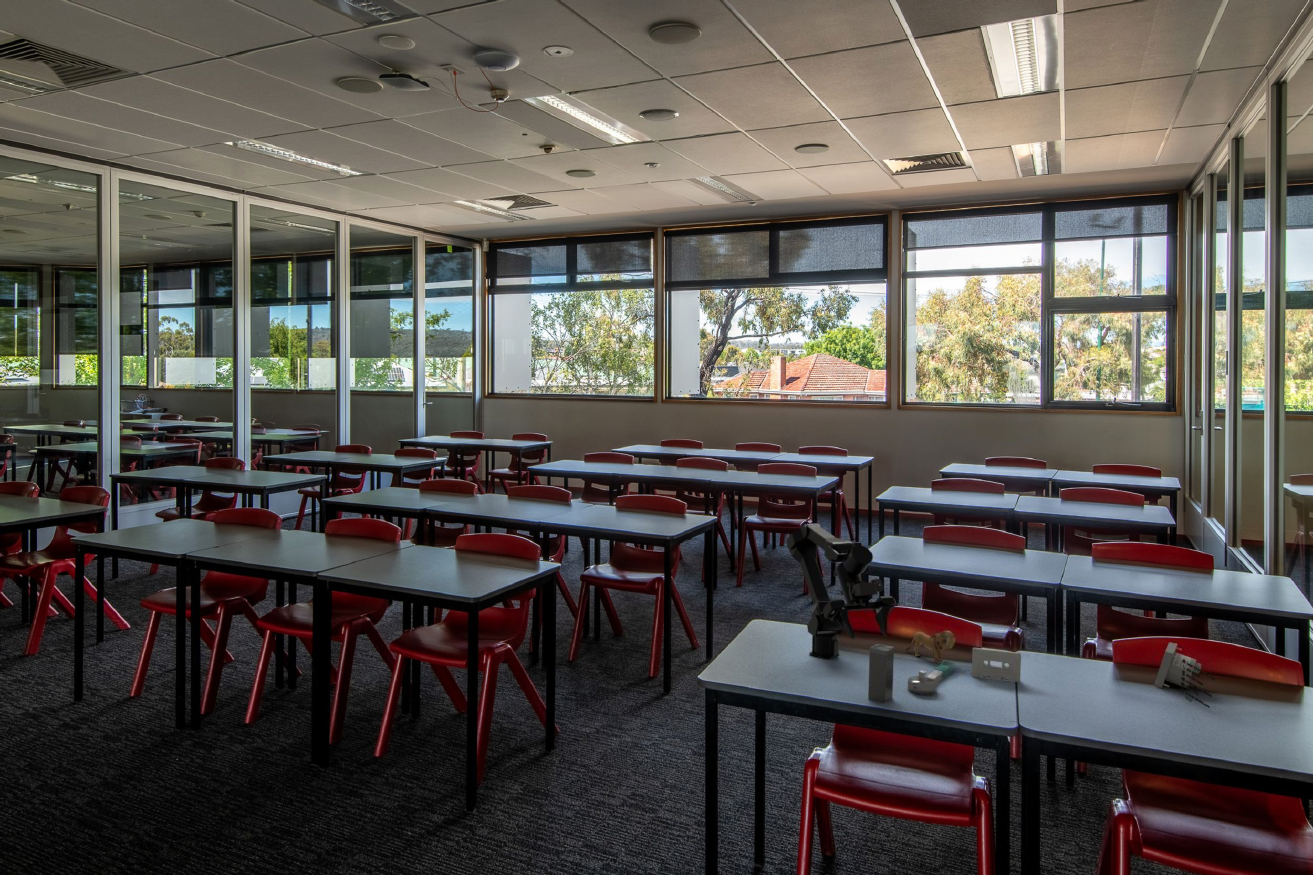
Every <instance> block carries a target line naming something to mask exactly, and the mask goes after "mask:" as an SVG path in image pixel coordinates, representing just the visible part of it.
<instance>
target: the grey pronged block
mask: <svg viewBox="0 0 1313 875" xmlns="http://www.w3.org/2000/svg"><path fill="white" fill-rule="evenodd" d="M1176 650H1179V651H1182V650H1183V649H1182V648H1180V647H1178V643H1173V642H1168V645H1167V647H1166V649H1165V651H1164V655H1163V658H1162V660H1161V663H1160V666H1159V669H1158V673H1157V675H1156V678H1155V681H1154V686H1157V687H1158V688H1160V689H1162V688H1163V686H1165V687H1167V688H1169V687H1170V685H1168V684H1165V681H1166V682H1169V683H1171V684H1173V685H1176V686H1179V687H1181V689H1180V690H1181V693H1182V694H1184V693H1185V696H1184V697H1185V700H1187V701H1189V702H1190V703H1192V702H1193V700H1192V699H1194V700H1196V702H1198V703H1200V704H1202V705H1203V706H1204V707H1207V708H1208V709H1209V708H1210V705H1208V704H1206V703H1204V702H1203V701H1202V700H1201V699H1199V698H1198V697H1199V693H1198V691H1199V692H1202V693H1204V694H1205V695H1206V696H1209V697H1210V698H1212V697H1213V696H1212V694H1210V693H1209V692H1207V691H1206V690H1203V688H1200V687H1199V686H1198V685H1197V684H1199V685H1201V686H1203V685H1204V683H1203V682H1202V681H1200V680H1198V679H1197V678H1199V679H1200V678H1201V674H1203V675H1204V676H1206V677H1208V678H1210V679H1212V680H1214V681H1215V680H1216V677H1214V676H1213V675H1211V673H1207V672H1206V671H1202V663H1198V662H1197V659H1195V658H1192V657H1189V656H1188V655H1187V656H1186V655H1184V654H1181V653H1178V652H1176ZM1192 674H1193V675H1194V676H1196V677H1197V678H1195V677H1194V676H1192ZM1190 680H1192V681H1194V682H1196V683H1197V684H1196V685H1195V684H1194V683H1192V682H1191V681H1190ZM1188 685H1190V686H1192V687H1194V688H1196V689H1197V690H1198V691H1196V690H1194V689H1193V688H1191V687H1190V686H1188ZM1184 688H1185V689H1186V690H1188V691H1190V692H1192V693H1194V694H1195V695H1196V696H1197V697H1195V696H1193V695H1191V693H1189V692H1187V691H1185V689H1184ZM1188 696H1189V697H1190V698H1189V697H1188Z"/></svg>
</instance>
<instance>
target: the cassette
mask: <svg viewBox="0 0 1313 875" xmlns="http://www.w3.org/2000/svg"><path fill="white" fill-rule="evenodd" d="M971 656H972V658H971V675H970V676H972V677H976V678H980V679H989V680H995V681H997V680H998V681H1004V682H1005V681H1006V682H1010V683H1011V682H1012V683H1013V682H1015V683H1020V682H1021V675H1022V674H1021V665H1022V654H1021V652H1014V651H1006V650H999V649H998V650H997V649H990V648H980V647H972V654H971ZM986 662H987V663H986ZM991 662H997V663H1001V665H997V664H991ZM1006 664H1008V665H1006Z"/></svg>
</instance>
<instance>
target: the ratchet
mask: <svg viewBox="0 0 1313 875" xmlns="http://www.w3.org/2000/svg"><path fill="white" fill-rule="evenodd" d="M954 671H955V662H952V661H949V660H948V661H947V660H944V661H943V662H942V663H940V664H939V665H938V666H936V667H935V668H934V671H932V672H931V673H929V674H928V675H927V671H926V670H922V669H920V670H919V671H918V675H916V676H915V675H914V676H910V677H908V678H907V691H908V692H909V693H911V694H913V695H916V696H917V695H918V696H922V697H923V696H924V697H931V696H935V695H936V694H937V691H938V690H937V687H938V686H937V684H938V683H939V682H941V680H943V679H945V678H946V677H947V676H949V675H950V674H951V673H952V672H954Z"/></svg>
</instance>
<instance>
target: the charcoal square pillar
mask: <svg viewBox="0 0 1313 875" xmlns="http://www.w3.org/2000/svg"><path fill="white" fill-rule="evenodd" d="M894 650H895V647H894V646H891V645H885V644H881V643H875V644H873V645H872V646H870V647H869V655H868V657H869V659H868V660H869V661H868V666H869V667H868V692H867V693H868V694H867V695H868V698H867V699H868V700H870V701H874V702H879V703H881V704H887V703H889V701H891V700H892V699H893V691H894V690H893V687H894V658H895V655H894V652H895V651H894Z"/></svg>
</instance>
